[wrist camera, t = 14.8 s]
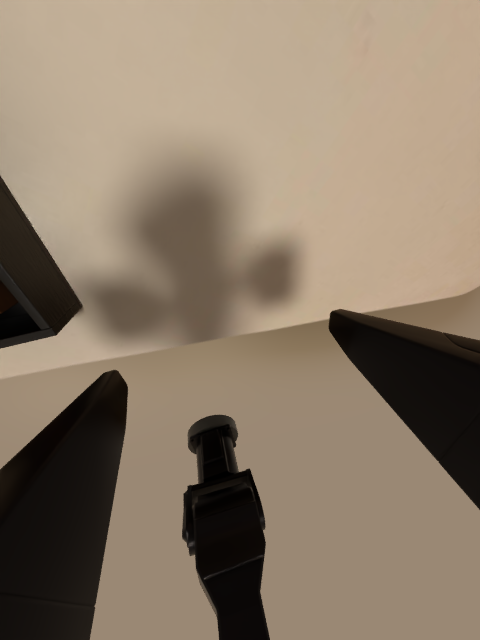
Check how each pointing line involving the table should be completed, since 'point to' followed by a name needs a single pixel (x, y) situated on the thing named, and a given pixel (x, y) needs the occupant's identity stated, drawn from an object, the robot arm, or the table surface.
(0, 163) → the table surface
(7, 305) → the red pad with bar
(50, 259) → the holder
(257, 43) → the table surface
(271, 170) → the table surface
